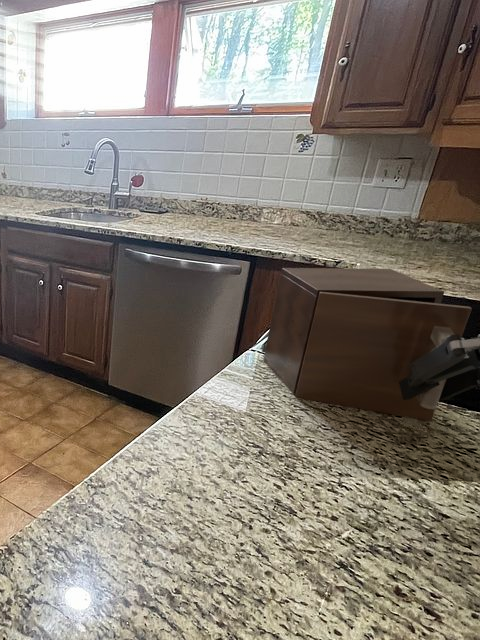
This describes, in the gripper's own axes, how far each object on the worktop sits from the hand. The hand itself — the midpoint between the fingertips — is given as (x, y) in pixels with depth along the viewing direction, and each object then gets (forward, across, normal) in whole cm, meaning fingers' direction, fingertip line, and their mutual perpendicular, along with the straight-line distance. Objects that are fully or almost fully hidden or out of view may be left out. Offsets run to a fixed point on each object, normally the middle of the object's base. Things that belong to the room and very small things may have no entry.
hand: (421, 390), depth 75 cm
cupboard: (+16, -4, +8) cm, 18 cm away
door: (+6, -5, -2) cm, 8 cm away
